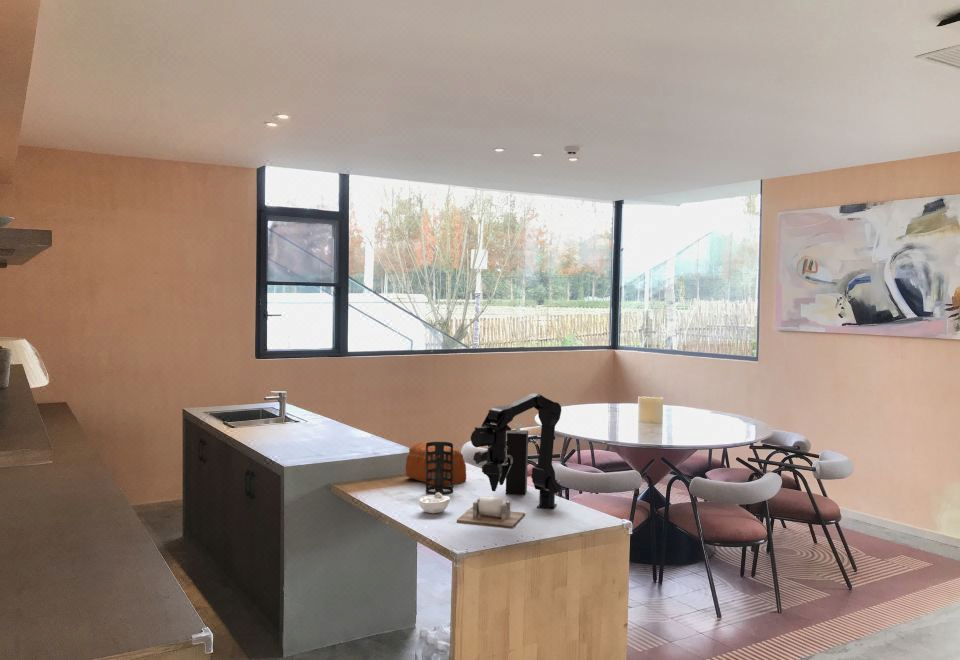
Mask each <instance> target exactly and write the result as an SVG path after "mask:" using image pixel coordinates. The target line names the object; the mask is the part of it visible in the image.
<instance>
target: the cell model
mask: <svg viewBox="0 0 960 660" xmlns="http://www.w3.org/2000/svg"><path fill="white" fill-rule="evenodd" d="M450 501H451V498H450V496H447V495H444V494H441V493H436V494H427V495H424V496H422V497H420V498H419V507H420V508H421V509H422V511H425V512H426V513H427V514H428V513H429V514H438V513H443V512H444V511H445V510H447V508H448V506H449V504H450Z"/></svg>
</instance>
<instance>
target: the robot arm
mask: <svg viewBox="0 0 960 660" xmlns="http://www.w3.org/2000/svg"><path fill="white" fill-rule="evenodd" d="M533 408H534V409H535V410H537V412H538V415H537V416H538V419H539V421H540V423H541V427H540V428H541V431H540V439H539V440H540V442H539V451H538V463H537V464H536V466H535V467H534V466H532V469H531V477H530V478H531V481H532V483H533V487H534V489H535V490H538V491H539V494H538V495H539V496H538V498H539V499H538V500H539V501H538V505H536V508H537V509H543V510H553V511H554V509H555V508H556V507H557V506H558V504H556V503H555V499H556V494H558V493H560V491H561V487H562V486H561V484H559V483H558V481H557V480H556V471H555V468H554V467H553V451H554V444H555V443H554V441H555V431H556V430H555V429H556V426H557V424H558V422H559V421H560V419H561V414H562V406H561V405H560V403H559V402H556V401H553V400H551V399H548V398H547V397H545V396H543V395H542V394H540V393H534V392H533V393H530V394H528V395H526V396H524V397H523V398H520V399H518V400H516V401H514V402H511V403H510V404H506V405H499V406H493V407H491V408H490V409H489V410H488V413H487V415H486V417H485V419H484V421H483V422H482V424H481V426H475V427H474V430H473V432H471V435H470V442H471V445H472V446H473V447H475V448H483V447H487V446H488V447H487V450H484V451H480V450H479V451H476V452H475V453H474V454H473V456H472V457H473V461H474V462H475V465H478V464H480V463H483V462H486V463H484V464H483V465H482V467H481V472H482V473H483V474H484V475H486V477H487V478H488V480H489V484H490V488H491V491H492V492H496V490H497V488H498V485H499V486H503V485H504V483H505V482H506V476H507V474H508V472H509V469H510V467H511V465H512V463H513V457H512V456H511V455H507V449H508V446H507V432H508V431H510V430H512V428H511V427H510V426H509V425H508V424H510V423H511V422H512V421H513V420H514V418H516V416H518V415H521V414H523V413H524V412H526V411H529V410H531V409H533ZM508 462H509V464H508Z"/></svg>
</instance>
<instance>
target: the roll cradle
mask: <svg viewBox="0 0 960 660" xmlns="http://www.w3.org/2000/svg"><path fill="white" fill-rule="evenodd" d="M480 498H481V497H478V498H477V499H476V500H475V501H473V502H472V507H470V508H469V509H468V510H467V511H465V512H464V513H463V514H462V515H461V516H460V517H458V518H457V519H456V523H460V524H461V523H462V524H470V525H478V526H487V527H488V526H489V527H496V528H497V527H498V528H506V529H513V528H515V527H516V526H517V524H518V523H519V522H520V521H521V520H522V519H523V518H524V517H525V515H526V513H525V512H522V511H521V512H520V511H514V510H513V511H512V510H511V501H509V500H507V501H505V504H503V505H502V516H496V515H487V514H480V513H479V507H478V503H479V501H480ZM507 506H508V509H507ZM523 516H524V517H523Z"/></svg>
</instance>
